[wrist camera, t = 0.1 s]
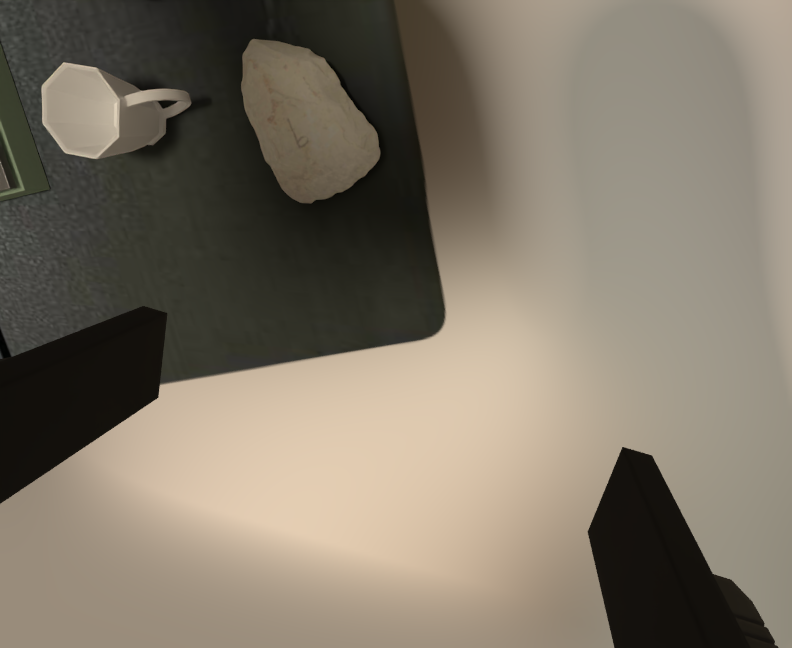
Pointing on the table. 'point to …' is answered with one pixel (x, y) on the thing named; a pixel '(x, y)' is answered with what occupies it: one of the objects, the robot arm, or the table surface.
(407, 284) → the table surface
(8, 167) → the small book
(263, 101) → the stone
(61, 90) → the cup
